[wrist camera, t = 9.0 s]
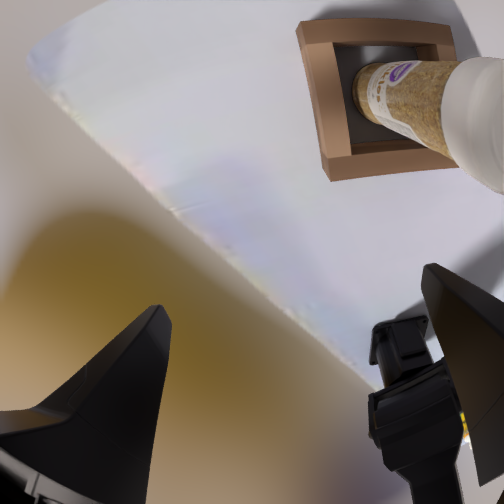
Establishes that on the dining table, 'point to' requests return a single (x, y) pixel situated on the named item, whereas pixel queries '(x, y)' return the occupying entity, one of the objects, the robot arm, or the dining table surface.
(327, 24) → the walnut socket
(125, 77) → the dining table surface
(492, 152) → the sprinkles bottle
